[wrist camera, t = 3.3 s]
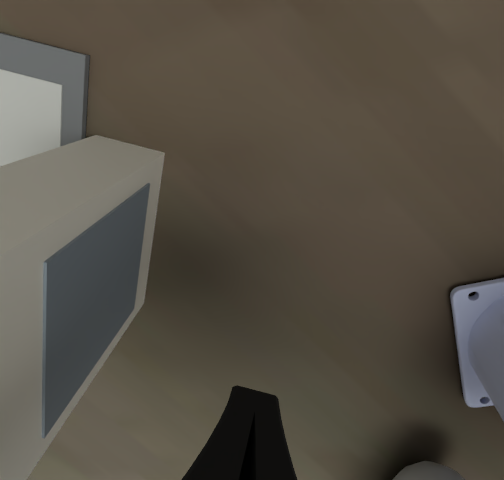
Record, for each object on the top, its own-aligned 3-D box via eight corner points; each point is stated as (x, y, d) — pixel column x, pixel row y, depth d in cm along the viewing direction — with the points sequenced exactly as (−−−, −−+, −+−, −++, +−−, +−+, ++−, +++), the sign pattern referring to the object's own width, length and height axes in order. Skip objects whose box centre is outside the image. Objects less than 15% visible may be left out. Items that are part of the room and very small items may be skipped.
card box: (166, 153, 19) (-8, 264, 8) (145, 303, 23) (5, 516, 12) (95, 134, 19) (-171, 222, 8) (86, 287, 23) (-108, 486, 12)
